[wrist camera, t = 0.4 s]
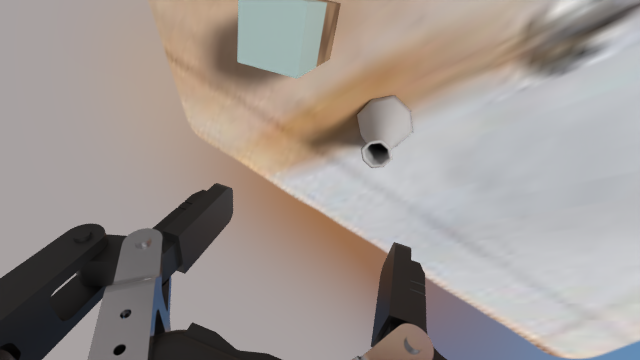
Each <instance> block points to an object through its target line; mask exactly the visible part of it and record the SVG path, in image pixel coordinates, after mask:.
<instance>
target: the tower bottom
mask: <svg viewBox="0 0 640 360" xmlns="http://www.w3.org/2000/svg"><path fill="white" fill-rule="evenodd" d="M318 1H322V2H326V3H327V6H326V12H325V18H324V24H323V30H322V36H321V42H320V48H319V53H318V59H317V65H316V67H317V66H319V65H321V64H322V63H324V62H326V61H327V60H329V59H330V56H331V51H332V45H333V40H334V35H335V30H336V25H337V19H338V14H339V9H340V4H341V3H337V2H332V1H328V0H318Z"/></svg>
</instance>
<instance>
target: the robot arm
mask: <svg viewBox="0 0 640 360" xmlns="http://www.w3.org/2000/svg"><path fill="white" fill-rule="evenodd" d="M232 214H233V190H232V188H230V187H227V186H224V185H221V184H218V183H216V184H214V185H213V186H212V187H211V188H210V189H209V190H207V191H205V190H202V191H199V192H197V193H195V194H193V195H191V196H190V197H189V198H188V199H187V200H185V202H183V203H182V204H181V205H180V206H179V207H178V208H176V209H175V210H174V211H172V212H171V213H170V214H169V215H168V216H167V217H165V218H164V219H163V220H162V221H161V222H160V223H158V224H157V225H156V226H155V227H153V228H152V229H149V228H147V229H141V230H137V231H135V232H133V233H131V234H129V235H128V236H120V235H106V233H105V230H104V228H103V227H102V226H100V225H97V224H84V225H80V226H77V227H74V228H72V229H70V230H69V231H67V232H66V233H64V234H63V235H61V236H60V237H59V238H57V239H56V240H54V241H53V242H52V243H50V244H49V245H47V246H46V247H45V248H43V249H42V250H41V251H39V252H38V253H36V254H35V255H34V256H32V257H30V258H29V259H27V260H26V261H25V262H23V263H22V264H20V265H19V266H17V267H16V268H15V269H13V270H12V271H10V272H9V273H7V274H6V275H5V276H3V277H2V278H0V360H42V359H43V358H44V357H45V356H46V355H47V354H48V353H49V352H50V351H51V350H52V348H54V347H55V346H56V344H58V342H60V341H61V340H62V339H63V338H64V337H65V336H66V335H67V333H68V332H69V331H70V330H71V329H72V328H73V327H74V326H75V325H76V324H77V323H78V322H79V321H80V320H81V319H82V318H83V317H84V316H85V315H86V314H87V313H88V312H89V311H90V310H91V309H92V308H93V307H94V306H95V305H96V304H97V303H98V302H99V301H100V300H101V299H102V298H103V299H102V303H101V307H100V311H99V315H98V319H97V324H96V327H95V331H94V336H93V340H92V344H91V348H90V352H89V356H88V360H281V359H279V358H277V357H274V356H272V355H270V354H265V353H257V352H247V351H239V350H237V349H235V348H234V347H233V346H232V345H230V344H229V343H228V342H227V341H226V340H224V339H223V338H222V337H221V336H220V335H219V334H217V333H216V332H214V331H212V330H209V329H207V328H204V327H202V326H200V325H197V324H195V323H192V324H191V325H190V326H189V328H188V329H187V330H175V331H171V328H170V297H171V275H172V274H173V273H174V272H175V271H176V270H177V271H179V272H182V273H186V272H187V271H188V270H189V268H190V267H191V266H192V265H193V264H194V263H195V261H196V260H197V259H198V258H199V257H200V256H201V254H202V253H203V252H204V251H205V250H206V249H207V248H208V246H209V245H210V244H211V243H212V242H213V240H214V239H215V238H216V237H217V236H218V235H219V234H220V232H221V231H222V230H223V229H224V227H226V225H227V224H228V223H229V222H230V220H231V217H232ZM75 273H76V274H77V275H76V276H75V277H74V278H72V279H71V280H70V281H69V282H68V283H67V284H65V285H64V286H63V287H62V288H61V289H60V290H58V291H57V292H56V293H55V294H54V295H53V296H51V295H52V294H53V292H54V291H55V290H56V289H57V288H59V287H60V286H61V285H62V284H63V283H64V282H65V281H66V280H68V279H69V278H70V277H71V276H73V275H74V274H75ZM371 347H372V348H371V349H370V350H369V351H368V352H366V353H365V354H364V355H363V356H361V357H359V356H357V357H355V358H353V359H352V360H447V359H445V358H444V357H443V356H441V355H440V354H439V353H438V352H437V351H436V349H435V348H434V347H433V344H432V342H431V340H430V338H429V337H428V335H427V329H426V296H425V273H424V271H423V269H422V267H421V265H420V263H418V262H415V261H412V260H411V248H410V247H407V246H404V245H401V244H398V243H395V242H394V243H393V245H392V247H391V249H390V251H389V254H388V256H387V258H386V260H385V262H384V265H383V268H382V271H381V276H380V282H379V290H378V297H377V304H376V313H375V319H374V327H373V335H372V342H371Z"/></svg>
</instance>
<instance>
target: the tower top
mask: <svg viewBox="0 0 640 360" xmlns="http://www.w3.org/2000/svg"><path fill="white" fill-rule="evenodd" d="M326 6H327V3H326V2H322V1H318V0H238V52H237V62H238V63H242V64H246V65H249V66H253V67H257V68H260V69H264V70H268V71H271V72H275V73H278V74H282V75H286V76H289V77H293V78H299V77H301V76H302V75H304V74H306V73H307V72H309V71H311V70H312V69H314V68H316V65H317V59H318V53H319V48H320V42H321V36H322V30H323V24H324V18H325V12H326Z"/></svg>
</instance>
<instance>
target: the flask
mask: <svg viewBox="0 0 640 360" xmlns="http://www.w3.org/2000/svg"><path fill="white" fill-rule="evenodd" d="M357 118H358V123H359V128H360V134H361V136H362V138H363V139H364V140H365V142H366V145H365V146H363V147H362V148H361V153H362V158H363V161H364V162H365V163H366V164H368V165H369V166H370V167H371V168H377V167H384V166H385V165H386V164H387V163H389V162H390V161H391V160H392V152H391V150H392V148H394V147H396V146H397V145H398V144H400V143H401V142H402V141H403V140H404V139H405V138H407V137H408V136H409V135H410V134H411V133H412V132H413V127H412V117H411V110H410V109H409V108H407V107H406V106H405V105H404V104H403V103H402V102H401V101H400V100H399V99H398V98H397V97H396V96H395V95H393V96H387V97H382V98H376V99H372V100H371V101H370V102H369V103H368V104H367V105H366V106H365V107H364V108H363V109H362V110H361V111H360V112H359V113H358V114H357Z"/></svg>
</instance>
